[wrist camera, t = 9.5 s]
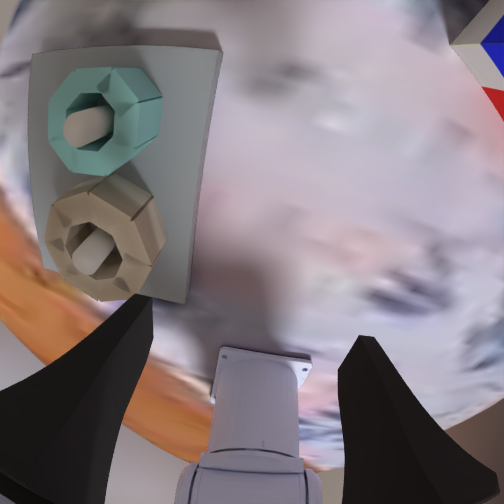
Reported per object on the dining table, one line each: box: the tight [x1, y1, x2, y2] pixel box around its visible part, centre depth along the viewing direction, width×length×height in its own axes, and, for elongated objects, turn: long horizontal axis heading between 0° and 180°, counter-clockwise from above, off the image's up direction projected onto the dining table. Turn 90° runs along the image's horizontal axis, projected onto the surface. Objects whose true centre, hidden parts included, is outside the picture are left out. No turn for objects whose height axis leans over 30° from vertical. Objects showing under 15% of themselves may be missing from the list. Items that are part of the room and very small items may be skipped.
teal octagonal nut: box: [48, 67, 163, 176], centre depth 13 cm, size 5×5×3 cm
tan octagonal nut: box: [44, 172, 168, 302], centre depth 17 cm, size 7×7×3 cm
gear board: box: [28, 45, 223, 304], centre depth 15 cm, size 16×12×6 cm
